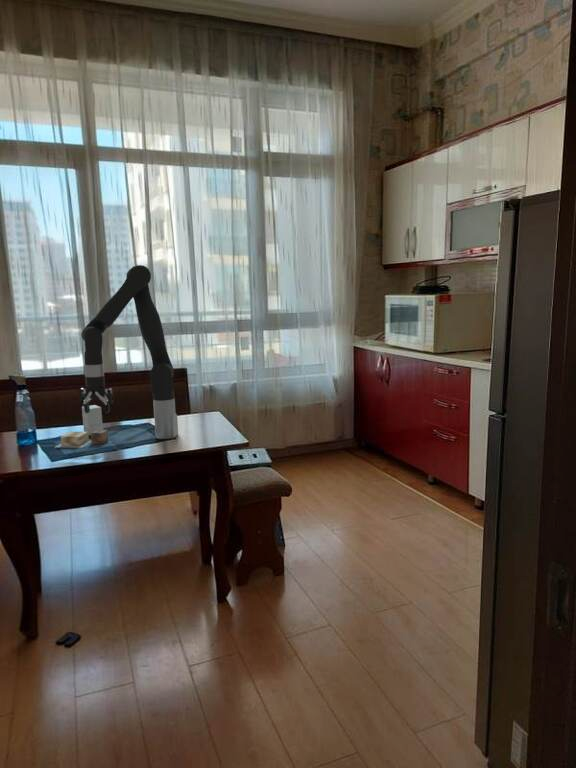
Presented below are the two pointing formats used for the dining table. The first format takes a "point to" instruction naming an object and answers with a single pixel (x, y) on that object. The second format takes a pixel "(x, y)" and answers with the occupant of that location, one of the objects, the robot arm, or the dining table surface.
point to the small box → (92, 419)
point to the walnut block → (99, 436)
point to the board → (76, 446)
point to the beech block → (74, 438)
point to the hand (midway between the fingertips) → (97, 412)
